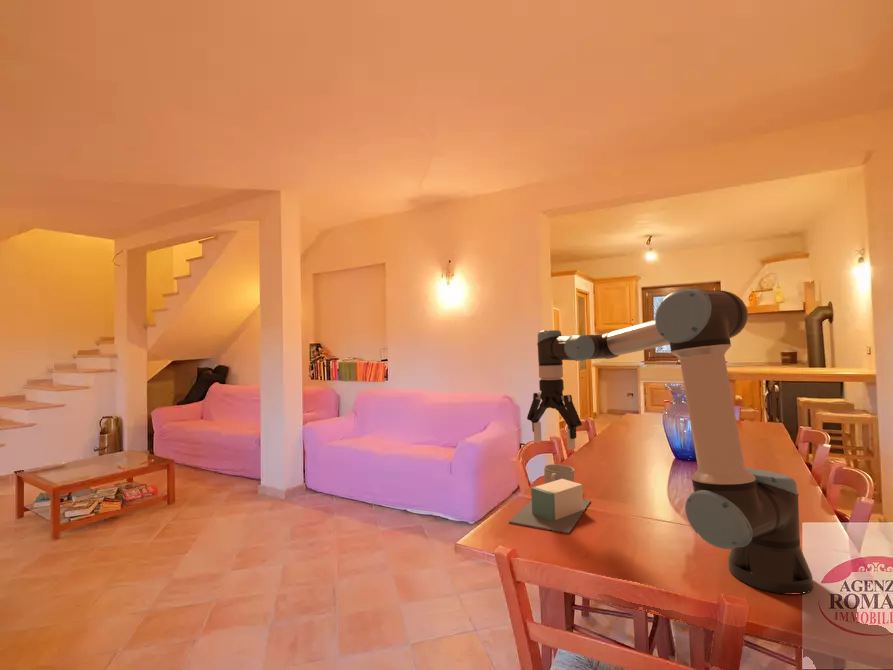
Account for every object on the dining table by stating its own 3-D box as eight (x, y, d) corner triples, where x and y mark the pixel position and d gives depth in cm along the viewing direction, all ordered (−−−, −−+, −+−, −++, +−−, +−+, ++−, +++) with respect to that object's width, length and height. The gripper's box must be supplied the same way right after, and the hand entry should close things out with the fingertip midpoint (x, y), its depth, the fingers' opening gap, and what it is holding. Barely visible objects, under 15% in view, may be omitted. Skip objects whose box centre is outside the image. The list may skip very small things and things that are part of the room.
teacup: (552, 483, 169) (552, 462, 169) (580, 488, 162) (579, 466, 162) (535, 493, 158) (534, 470, 158) (563, 499, 151) (562, 475, 151)
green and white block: (583, 509, 139) (551, 521, 131) (563, 503, 146) (532, 513, 138) (582, 484, 140) (550, 494, 131) (562, 478, 146) (531, 487, 138)
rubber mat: (569, 534, 123) (569, 532, 123) (508, 523, 132) (508, 521, 132) (590, 501, 148) (590, 500, 148) (538, 494, 156) (538, 493, 156)
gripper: (591, 379, 133) (594, 450, 132) (530, 376, 153) (533, 438, 152) (575, 381, 129) (578, 454, 128) (514, 378, 149) (517, 441, 148)
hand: (554, 445), depth 140 cm, fingers open, 13 cm apart
